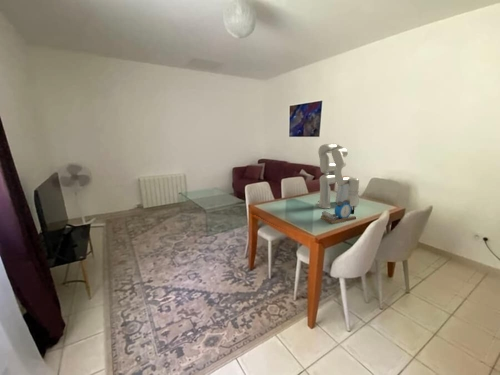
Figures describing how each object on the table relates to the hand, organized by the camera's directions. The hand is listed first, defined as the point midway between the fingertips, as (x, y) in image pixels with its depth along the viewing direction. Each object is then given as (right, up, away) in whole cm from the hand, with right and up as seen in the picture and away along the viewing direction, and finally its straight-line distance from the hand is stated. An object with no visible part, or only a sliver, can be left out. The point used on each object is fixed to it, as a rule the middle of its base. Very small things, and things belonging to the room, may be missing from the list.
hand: (351, 213), depth 189 cm
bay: (-12, -4, -3) cm, 13 cm away
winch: (-23, -5, -9) cm, 25 cm away
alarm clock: (-9, -3, -2) cm, 10 cm away
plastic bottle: (+9, +6, +36) cm, 37 cm away
